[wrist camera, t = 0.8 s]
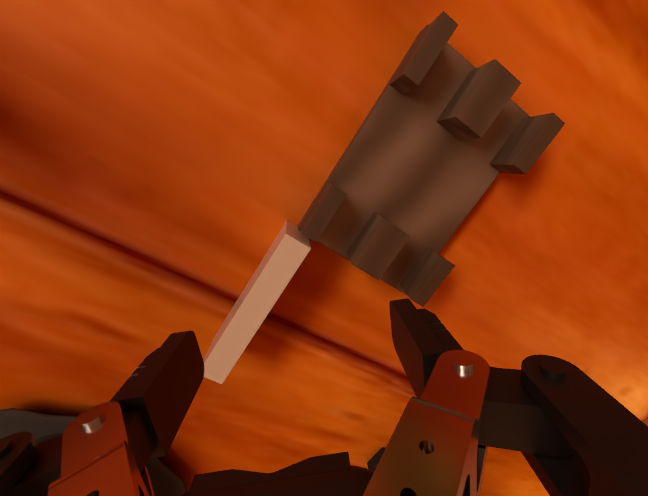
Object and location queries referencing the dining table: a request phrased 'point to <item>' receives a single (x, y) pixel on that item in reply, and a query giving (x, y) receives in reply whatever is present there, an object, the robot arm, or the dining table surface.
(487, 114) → the dark grey holder
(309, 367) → the dining table surface
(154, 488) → the casserole
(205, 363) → the clay strip
